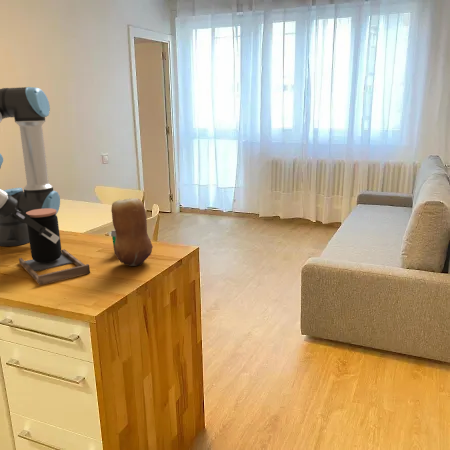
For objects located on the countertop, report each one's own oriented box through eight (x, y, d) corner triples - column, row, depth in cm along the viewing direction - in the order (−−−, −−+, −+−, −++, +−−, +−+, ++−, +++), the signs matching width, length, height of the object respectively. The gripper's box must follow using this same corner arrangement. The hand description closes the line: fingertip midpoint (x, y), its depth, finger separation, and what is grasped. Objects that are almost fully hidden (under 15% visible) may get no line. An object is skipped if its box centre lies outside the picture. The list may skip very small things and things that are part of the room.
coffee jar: (68, 254, 171) (62, 209, 166) (49, 263, 161) (43, 215, 157) (45, 252, 174) (39, 207, 170) (25, 261, 164) (18, 214, 160)
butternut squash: (124, 258, 172) (119, 194, 165) (158, 259, 169) (153, 194, 163) (109, 270, 158) (102, 202, 152) (145, 272, 156) (139, 203, 149)
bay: (19, 263, 169) (18, 255, 168) (64, 253, 179) (63, 246, 178) (40, 285, 147) (38, 276, 146) (90, 273, 157) (89, 265, 156)
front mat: (23, 262, 169) (23, 261, 169) (62, 254, 178) (61, 253, 177) (32, 272, 159) (32, 270, 159) (72, 262, 167) (72, 261, 167)
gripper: (-13, 206, 162) (37, 238, 175) (1, 217, 144) (56, 252, 158) (0, 189, 164) (49, 223, 177) (16, 199, 146) (69, 235, 160)
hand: (52, 237), depth 167 cm, fingers closed on coffee jar, 11 cm apart
